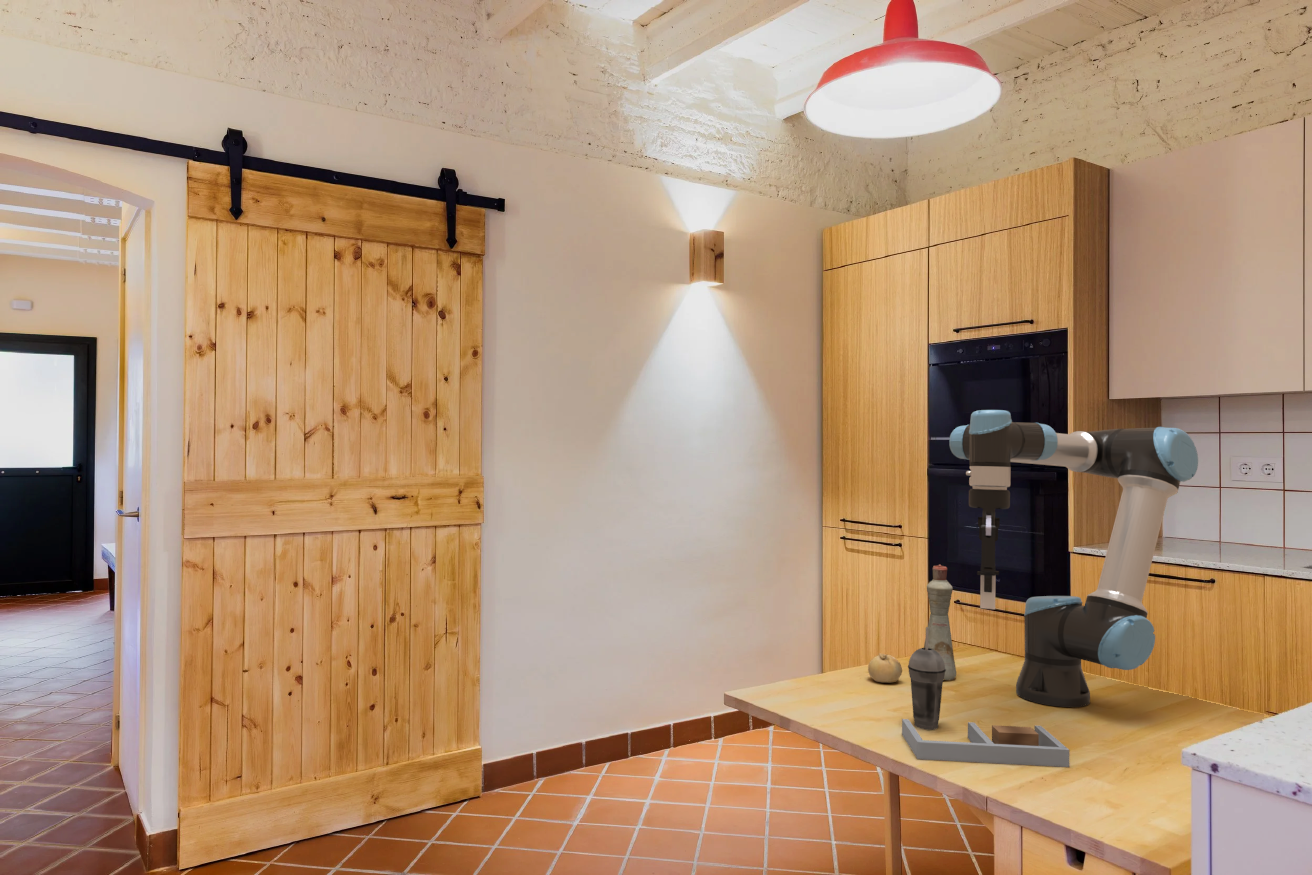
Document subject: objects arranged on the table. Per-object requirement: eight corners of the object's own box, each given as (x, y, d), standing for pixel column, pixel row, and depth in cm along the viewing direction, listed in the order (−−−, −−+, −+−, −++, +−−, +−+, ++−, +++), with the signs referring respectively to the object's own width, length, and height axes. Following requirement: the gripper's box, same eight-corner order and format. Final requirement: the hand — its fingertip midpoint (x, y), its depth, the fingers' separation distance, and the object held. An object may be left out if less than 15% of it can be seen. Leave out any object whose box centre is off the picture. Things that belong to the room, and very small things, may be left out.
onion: (862, 677, 198) (863, 648, 198) (893, 676, 199) (894, 648, 199) (875, 686, 190) (875, 656, 190) (907, 685, 191) (907, 656, 191)
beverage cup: (945, 722, 164) (945, 624, 164) (945, 733, 157) (946, 631, 157) (907, 718, 166) (908, 621, 167) (906, 729, 159) (907, 627, 160)
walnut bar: (1030, 748, 150) (1030, 726, 150) (1038, 756, 146) (1038, 734, 146) (991, 746, 151) (991, 725, 151) (998, 754, 147) (998, 732, 147)
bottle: (920, 680, 196) (921, 565, 197) (918, 671, 205) (919, 561, 205) (958, 683, 193) (959, 567, 194) (954, 674, 202) (955, 562, 203)
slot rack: (1040, 741, 153) (1040, 725, 154) (1069, 766, 141) (1069, 749, 141) (901, 734, 156) (902, 718, 156) (917, 758, 143) (917, 741, 143)
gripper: (970, 487, 166) (968, 601, 165) (967, 488, 154) (965, 611, 153) (1009, 488, 163) (1008, 604, 162) (1010, 489, 151) (1008, 615, 150)
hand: (987, 608), depth 158 cm, fingers closed
